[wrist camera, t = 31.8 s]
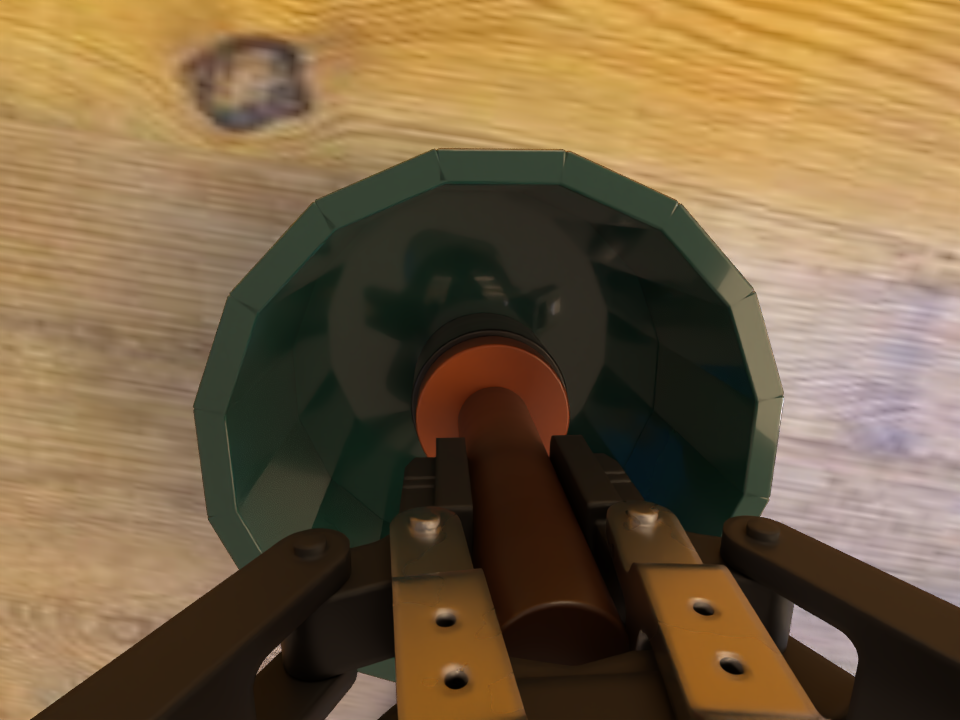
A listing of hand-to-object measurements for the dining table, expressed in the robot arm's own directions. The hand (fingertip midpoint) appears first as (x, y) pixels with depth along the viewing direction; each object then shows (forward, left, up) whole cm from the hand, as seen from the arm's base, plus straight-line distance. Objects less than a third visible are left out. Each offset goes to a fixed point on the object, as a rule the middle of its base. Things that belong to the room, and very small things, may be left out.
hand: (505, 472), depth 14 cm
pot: (0, 0, -8) cm, 8 cm away
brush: (0, 0, -8) cm, 8 cm away
